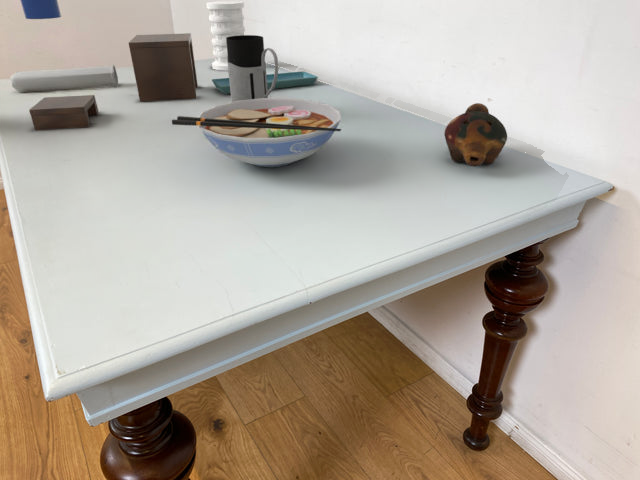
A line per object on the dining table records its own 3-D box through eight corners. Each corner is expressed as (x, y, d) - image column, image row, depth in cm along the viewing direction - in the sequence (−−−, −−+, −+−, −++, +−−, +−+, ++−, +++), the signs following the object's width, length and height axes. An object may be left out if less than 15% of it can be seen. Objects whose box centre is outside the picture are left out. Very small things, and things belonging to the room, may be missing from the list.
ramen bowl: (356, 142, 87) (358, 96, 82) (333, 194, 67) (334, 137, 63) (226, 134, 91) (221, 90, 87) (169, 181, 72) (160, 127, 68)
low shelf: (35, 130, 94) (28, 109, 92) (49, 116, 103) (44, 97, 101) (88, 126, 96) (83, 106, 94) (99, 113, 104) (94, 94, 102)
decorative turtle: (494, 145, 84) (505, 100, 80) (507, 185, 72) (521, 134, 68) (438, 139, 86) (446, 95, 81) (441, 178, 73) (451, 128, 69)
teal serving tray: (304, 78, 133) (304, 69, 132) (318, 85, 126) (318, 75, 125) (212, 89, 123) (210, 79, 122) (222, 96, 116) (221, 86, 115)
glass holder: (254, 104, 110) (248, 33, 102) (295, 116, 101) (293, 40, 94) (222, 111, 105) (214, 37, 97) (263, 125, 96) (257, 45, 88)
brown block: (139, 101, 113) (128, 42, 106) (146, 89, 124) (136, 35, 117) (196, 98, 115) (188, 40, 108) (197, 86, 126) (190, 33, 119)
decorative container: (204, 67, 148) (196, 3, 139) (233, 62, 156) (227, 0, 147) (229, 72, 142) (222, 4, 133) (257, 66, 150) (253, 2, 140)
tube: (5, 78, 118) (113, 71, 123) (8, 67, 121) (113, 61, 126) (14, 97, 122) (118, 90, 127) (17, 86, 125) (118, 79, 130)
